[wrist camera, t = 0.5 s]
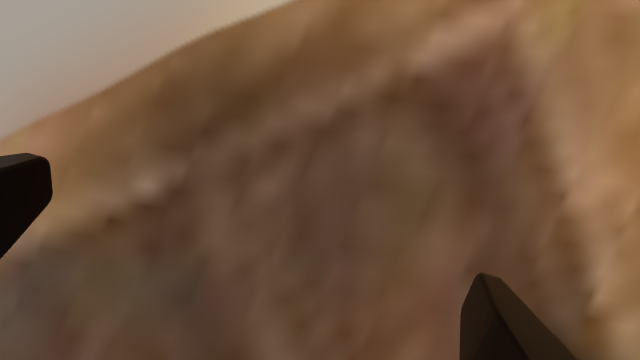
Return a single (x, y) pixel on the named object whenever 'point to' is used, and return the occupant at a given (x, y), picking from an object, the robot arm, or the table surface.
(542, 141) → the table surface
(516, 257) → the table surface
